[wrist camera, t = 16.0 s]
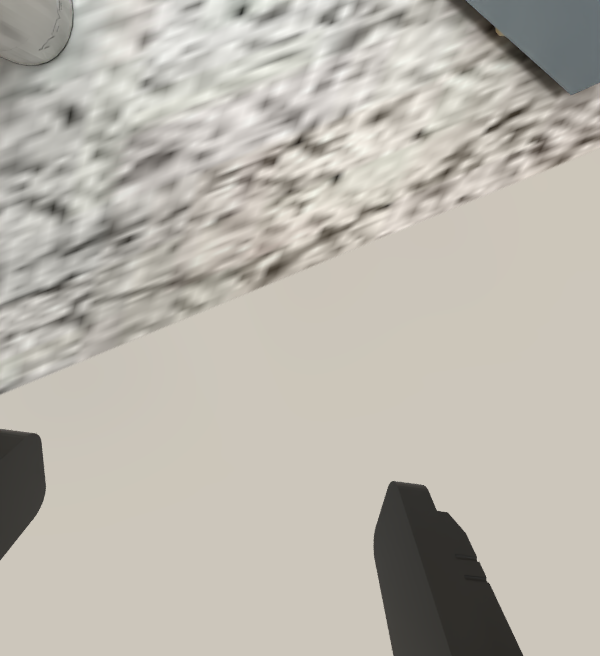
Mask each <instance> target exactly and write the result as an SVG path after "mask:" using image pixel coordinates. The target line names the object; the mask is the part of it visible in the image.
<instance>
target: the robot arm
mask: <svg viewBox="0 0 600 656" xmlns="http://www.w3.org/2000/svg"><path fill="white" fill-rule="evenodd" d="M72 18H73V10H72V1H71V0H0V57H3V58H5V59H7V60H10V61H12V62H15V63H18V64H23V65H39V64H42V63H46V62H48V61H50V60H51V59H53V58H54V57H56V56H57V55H58V54H59V53H60V52H61V50H62V49H63V48H64V46H65V44H66V43H67V41H68V39H69V36H70V32H71V28H72ZM45 489H46V483H45V473H44V464H43V453H42V443H41V439H40V437H39V435H37V434H35V433H27V432H20V431H12V430H5V429H0V560H1V559H2V557H3V556H4V555H5V554H6V553H7V551H8V550H9V549H10V547H11V546H12V545H13V544H14V542H15V541H16V540H17V539H18V537H19V536H20V535H21V534H22V532H23V531H24V530H25V529H26V527H27V526H28V525H29V524H30V522H31V521H32V520H33V519H34V517H35V516H36V514H37V513H38V511H39V509H40V507H41V505H42V502H43V500H44V496H45V491H46V490H45ZM374 558H375V563H376V568H377V573H378V578H379V583H380V589H381V594H382V599H383V604H384V609H385V614H386V619H387V624H388V629H389V635H390V640H391V645H392V650H393V655H394V656H523V654H522V652H521V650H520V648H519V646H518V644H517V641H516V639H515V637H514V635H513V633H512V631H511V629H510V627H509V624H508V622H507V620H506V618H505V616H504V614H503V612H502V610H501V607H500V605H499V603H498V601H497V599H496V597H495V595H494V592H493V590H492V588H491V586H490V584H489V583H487V581H486V575H485V573H484V571H483V569H482V567H481V565H480V563H479V562H477V556H476V554H475V552H474V550H473V548H472V546H471V544H470V541H469V539H468V537H467V535H466V533H465V532H464V531H463V530H462V529H461V527H460V526H459V525H458V524H457V523H456V522H455V520H454V519H453V518H452V517H451V516H450V515H449V514H448V513H447V512H441V511H437V510H436V508H435V505H434V503H433V501H432V498H431V496H430V493H429V491H428V489H427V488H426V486H424V485H419V484H411V483H404V482H396V481H392V482H391V483H390V484H389V486H388V489H387V493H386V496H385V499H384V502H383V505H382V509H381V512H380V515H379V518H378V522H377V525H376V529H375V533H374Z"/></svg>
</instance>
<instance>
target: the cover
mask: <svg viewBox="0 0 600 656" xmlns="http://www.w3.org/2000/svg"><path fill="white" fill-rule="evenodd" d="M466 1H467V2H468V3H469V4H470V5H471V6H472V7H473V8H475V9H476V10H477V11H478V12H479V13H480V14H481V15H482V16H484V17H485V18H486V19H487V20H488V21H489V22H490V23H491V24H492V25H494V26H495V27H496V28H497V29H498V30H499V31H500V32H501V33H502V34H504V35H505V36H506V37H507V38H508V39H509V40H510V41H511V42H512V43H514V44H515V45H516V46H517V47H518V48H519V49H520V50H521V51H523V52H524V53H525V54H526V55H527V56H528V57H529V58H530V59H531V60H533V61H534V62H535V63H536V64H537V65H538V66H539V67H540V68H541V69H543V70H544V71H545V72H546V73H547V74H548V75H549V76H550V77H551V78H553V79H554V80H555V81H556V82H557V83H558V84H559V85H560V86H562V87H563V88H564V89H565V90H566V91H567V92H568V93H569V94H570V95H573V94H575V93H577V92H579V91H582V90H584V89H586V88H588V87H591V86H593V85H595V84H597V83H600V0H466Z"/></svg>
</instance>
